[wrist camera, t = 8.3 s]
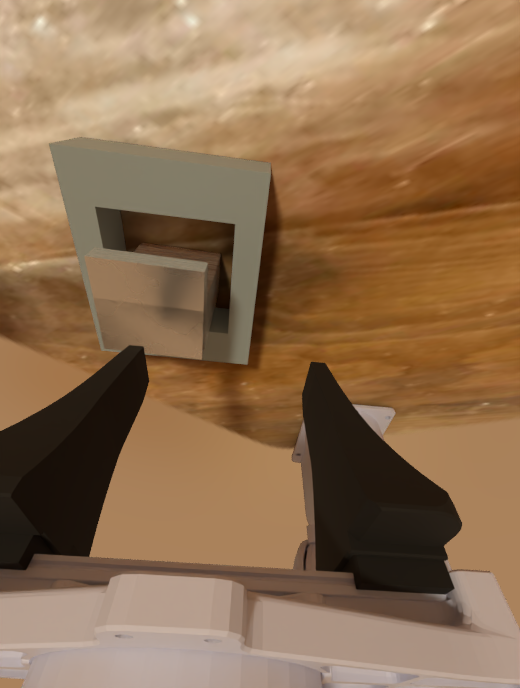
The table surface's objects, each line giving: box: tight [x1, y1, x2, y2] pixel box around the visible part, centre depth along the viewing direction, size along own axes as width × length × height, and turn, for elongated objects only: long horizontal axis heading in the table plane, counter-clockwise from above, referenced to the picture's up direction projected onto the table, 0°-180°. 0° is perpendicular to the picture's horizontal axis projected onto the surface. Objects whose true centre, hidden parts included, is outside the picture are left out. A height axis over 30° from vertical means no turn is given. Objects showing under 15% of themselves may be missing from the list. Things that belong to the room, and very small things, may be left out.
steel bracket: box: [84, 243, 221, 360], centre depth 18 cm, size 5×5×7 cm
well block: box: [49, 137, 271, 365], centre depth 19 cm, size 12×10×3 cm
